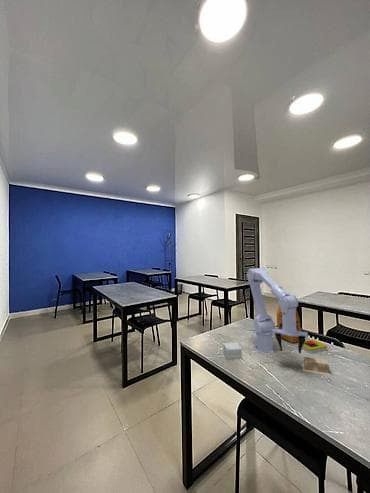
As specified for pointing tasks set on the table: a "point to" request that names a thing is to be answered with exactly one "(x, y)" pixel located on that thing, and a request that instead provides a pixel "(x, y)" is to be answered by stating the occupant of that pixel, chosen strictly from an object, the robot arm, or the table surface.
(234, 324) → the table surface
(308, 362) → the wooden block
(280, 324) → the coffee package
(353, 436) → the table surface
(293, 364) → the table surface
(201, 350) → the table surface
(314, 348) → the emergency button
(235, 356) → the small box
